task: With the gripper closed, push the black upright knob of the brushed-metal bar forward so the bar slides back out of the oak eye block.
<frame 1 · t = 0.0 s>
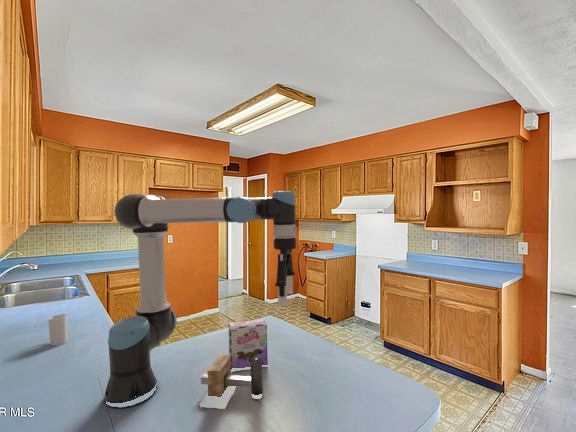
hand: (286, 299, 106), 28 cm above the counter, fingers open, 13 cm apart
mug: (56, 342, 142), on the counter
candy box: (248, 367, 117), on the counter
hook rod: (231, 375, 99), point 6 cm above the counter, slide at 0.0 cm
eye block: (220, 394, 100), on the counter
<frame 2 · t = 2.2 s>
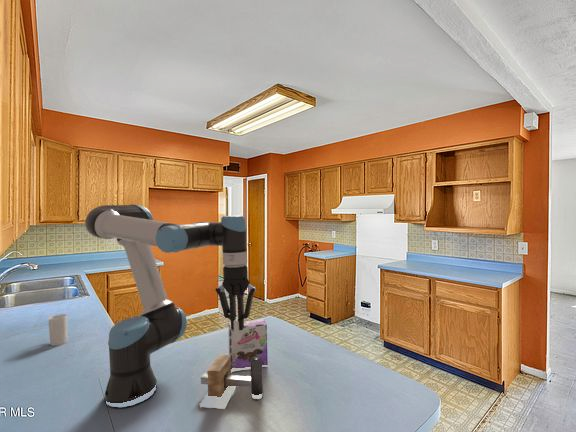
hand: (237, 339, 98), 18 cm above the counter, fingers closed
nothing on the counter moved.
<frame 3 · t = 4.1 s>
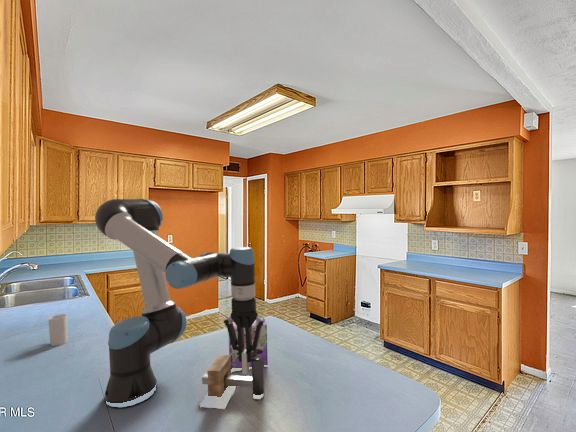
hand: (245, 371, 98), 8 cm above the counter, fingers closed
hook rod: (233, 376, 99), point 6 cm above the counter, slide at 0.4 cm, touching gripper
everything else where it was.
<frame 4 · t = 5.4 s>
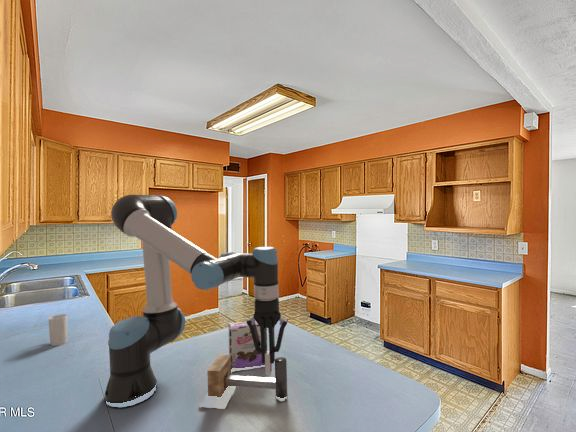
hand: (268, 372, 97), 8 cm above the counter, fingers closed
hook rod: (255, 377, 98), point 6 cm above the counter, slide at 7.8 cm, touching gripper
everything else where it was.
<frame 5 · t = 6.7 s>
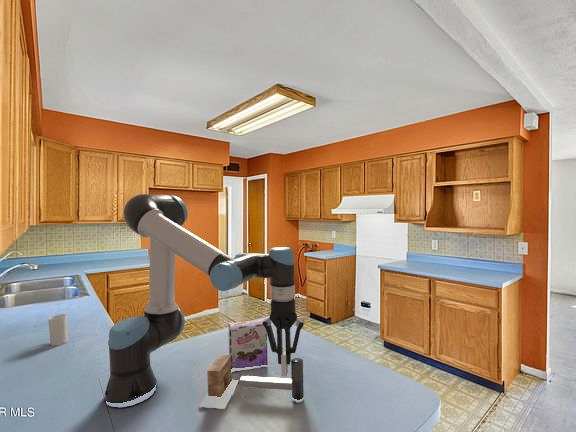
hand: (284, 373, 96), 8 cm above the counter, fingers closed
hook rod: (271, 378, 97), point 6 cm above the counter, slide at 12.8 cm, touching gripper
everything else where it was.
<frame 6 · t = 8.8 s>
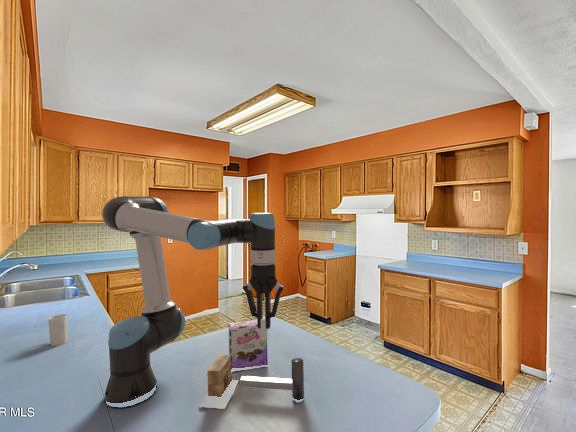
hand: (264, 338, 97), 19 cm above the counter, fingers closed
hook rod: (271, 378, 97), point 6 cm above the counter, slide at 13.0 cm
everything else where it was.
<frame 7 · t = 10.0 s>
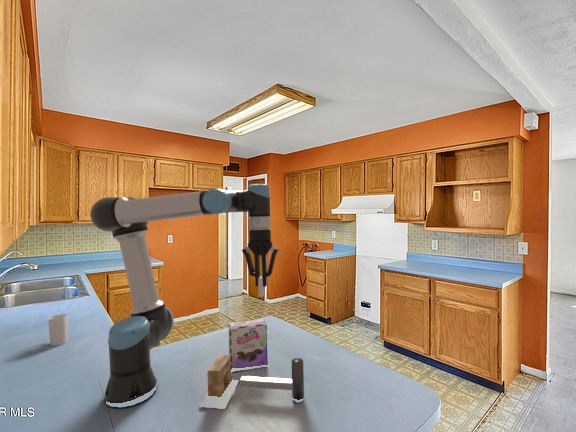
hand: (261, 295, 110), 28 cm above the counter, fingers closed
nothing on the counter moved.
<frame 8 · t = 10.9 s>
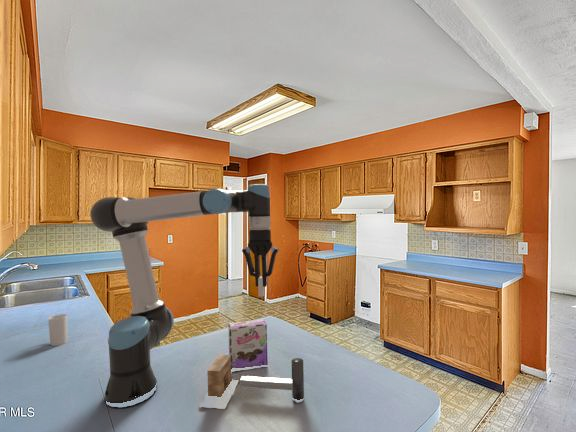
hand: (261, 295, 110), 28 cm above the counter, fingers closed
nothing on the counter moved.
at the end: hook rod slide at 13.0 cm; the gripper is holding nothing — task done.
